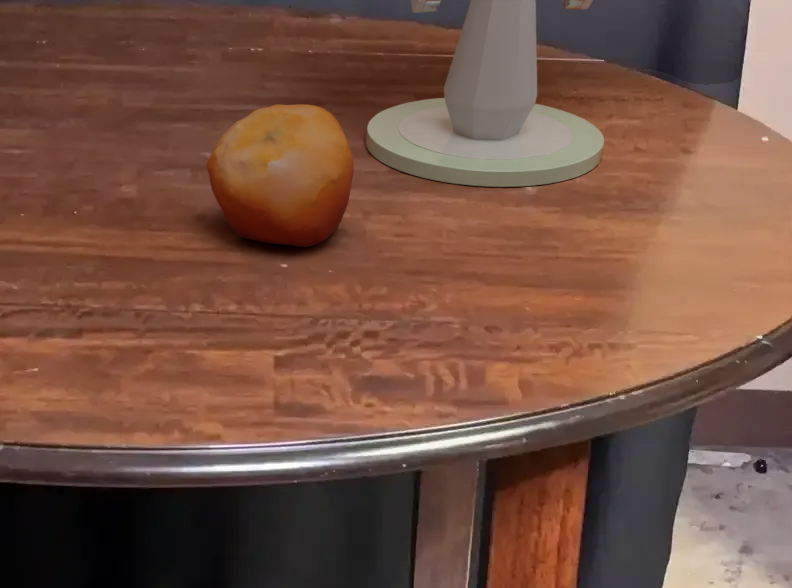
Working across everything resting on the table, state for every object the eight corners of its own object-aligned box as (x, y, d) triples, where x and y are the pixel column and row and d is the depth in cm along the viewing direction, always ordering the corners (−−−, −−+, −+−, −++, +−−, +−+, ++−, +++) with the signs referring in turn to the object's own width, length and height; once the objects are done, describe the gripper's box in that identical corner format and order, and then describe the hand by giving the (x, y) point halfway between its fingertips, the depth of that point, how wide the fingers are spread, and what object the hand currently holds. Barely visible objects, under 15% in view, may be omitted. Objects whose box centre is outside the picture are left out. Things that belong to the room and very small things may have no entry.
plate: (589, 116, 103) (592, 100, 102) (613, 192, 91) (616, 175, 90) (368, 107, 105) (369, 91, 104) (362, 181, 93) (364, 164, 92)
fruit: (389, 190, 87) (370, 88, 81) (333, 298, 85) (308, 201, 78) (265, 166, 91) (236, 66, 84) (208, 269, 89) (173, 174, 82)
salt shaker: (423, 122, 99) (446, -95, 91) (499, 112, 100) (528, -103, 93) (470, 149, 94) (499, -77, 87) (548, 138, 96) (584, -85, 88)
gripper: (328, -233, 91) (344, -21, 89) (662, -237, 92) (685, -28, 90) (311, -161, 97) (326, 38, 95) (624, -167, 98) (645, 30, 96)
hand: (503, 6), depth 92 cm, fingers open, 8 cm apart
